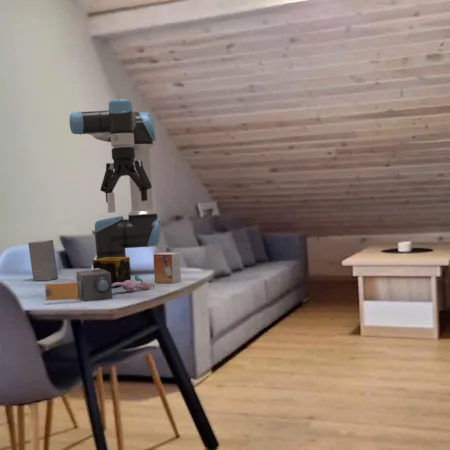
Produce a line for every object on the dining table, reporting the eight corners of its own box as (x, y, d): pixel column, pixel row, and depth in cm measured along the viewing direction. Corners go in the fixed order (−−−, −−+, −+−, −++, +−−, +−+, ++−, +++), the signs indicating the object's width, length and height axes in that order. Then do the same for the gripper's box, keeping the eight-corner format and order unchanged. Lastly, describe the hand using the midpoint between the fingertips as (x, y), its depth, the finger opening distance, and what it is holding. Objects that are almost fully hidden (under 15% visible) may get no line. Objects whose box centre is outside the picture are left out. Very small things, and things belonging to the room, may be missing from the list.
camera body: (77, 295, 217) (75, 269, 217) (105, 292, 221) (103, 266, 220) (84, 302, 204) (82, 274, 204) (113, 298, 207) (111, 271, 207)
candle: (92, 288, 234) (90, 260, 233) (107, 283, 243) (105, 256, 243) (118, 288, 230) (116, 259, 230) (131, 283, 240) (130, 256, 239)
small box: (154, 283, 237) (152, 254, 237) (163, 280, 242) (161, 252, 242) (173, 283, 233) (171, 254, 233) (181, 281, 238) (179, 252, 238)
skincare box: (58, 278, 264) (55, 239, 263) (44, 281, 259) (41, 241, 258) (44, 278, 269) (42, 239, 268) (30, 280, 264) (27, 241, 263)
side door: (82, 298, 206) (81, 281, 206) (81, 299, 205) (80, 282, 204) (47, 300, 206) (45, 283, 206) (45, 301, 204) (44, 284, 204)
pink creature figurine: (148, 291, 227) (107, 290, 220) (149, 274, 227) (108, 272, 220) (156, 293, 222) (114, 292, 214) (157, 276, 222) (116, 274, 214)
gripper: (87, 150, 220) (91, 213, 221) (144, 143, 206) (149, 211, 207) (102, 150, 226) (107, 212, 227) (159, 144, 212) (163, 210, 213)
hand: (127, 212), depth 217 cm, fingers open, 13 cm apart
